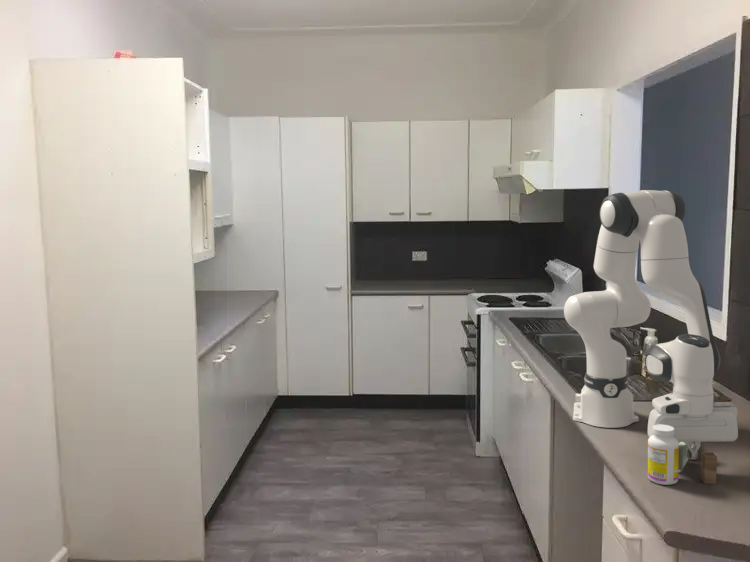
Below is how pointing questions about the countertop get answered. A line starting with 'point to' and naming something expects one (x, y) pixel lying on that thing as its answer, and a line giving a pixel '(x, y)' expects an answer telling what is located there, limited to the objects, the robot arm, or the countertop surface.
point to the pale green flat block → (682, 455)
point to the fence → (708, 467)
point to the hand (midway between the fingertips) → (691, 458)
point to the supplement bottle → (663, 455)
